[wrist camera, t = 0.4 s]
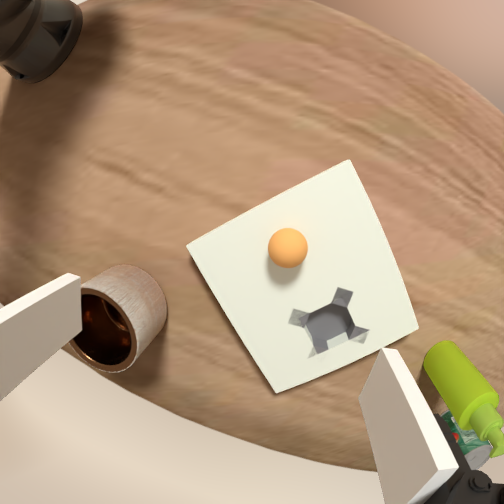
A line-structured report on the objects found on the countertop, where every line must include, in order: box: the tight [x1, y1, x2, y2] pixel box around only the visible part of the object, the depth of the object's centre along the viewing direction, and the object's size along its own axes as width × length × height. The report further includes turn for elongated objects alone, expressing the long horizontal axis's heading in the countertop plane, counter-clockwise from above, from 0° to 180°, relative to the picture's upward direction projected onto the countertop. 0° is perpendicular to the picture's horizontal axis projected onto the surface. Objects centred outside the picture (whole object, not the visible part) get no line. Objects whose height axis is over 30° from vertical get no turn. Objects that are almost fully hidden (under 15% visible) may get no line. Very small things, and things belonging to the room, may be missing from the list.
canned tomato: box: [440, 410, 493, 470], centre depth 34 cm, size 8×8×11 cm
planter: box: [69, 264, 167, 372], centre depth 35 cm, size 11×11×10 cm
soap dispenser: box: [423, 341, 504, 458], centre depth 27 cm, size 6×7×20 cm
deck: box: [186, 159, 419, 393], centre depth 35 cm, size 22×20×2 cm
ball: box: [268, 228, 308, 268], centre depth 31 cm, size 4×4×4 cm
